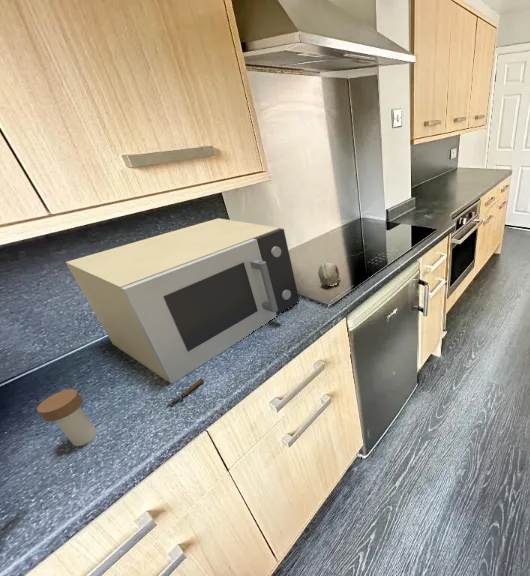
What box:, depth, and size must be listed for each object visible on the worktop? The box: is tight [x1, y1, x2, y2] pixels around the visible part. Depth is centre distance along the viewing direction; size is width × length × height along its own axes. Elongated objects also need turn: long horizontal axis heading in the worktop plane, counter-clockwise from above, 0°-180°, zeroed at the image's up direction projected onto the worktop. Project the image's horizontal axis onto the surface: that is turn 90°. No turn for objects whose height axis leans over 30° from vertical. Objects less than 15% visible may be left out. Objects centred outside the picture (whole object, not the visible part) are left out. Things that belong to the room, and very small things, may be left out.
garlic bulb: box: [317, 261, 340, 287], centre depth 120 cm, size 9×8×10 cm
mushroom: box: [36, 388, 99, 447], centre depth 63 cm, size 6×6×11 cm
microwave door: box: [121, 239, 278, 385], centre depth 84 cm, size 7×34×27 cm, turn 148°
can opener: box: [165, 378, 204, 408], centre depth 74 cm, size 9×2×1 cm, turn 149°
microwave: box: [65, 217, 300, 383], centre depth 97 cm, size 35×44×27 cm
